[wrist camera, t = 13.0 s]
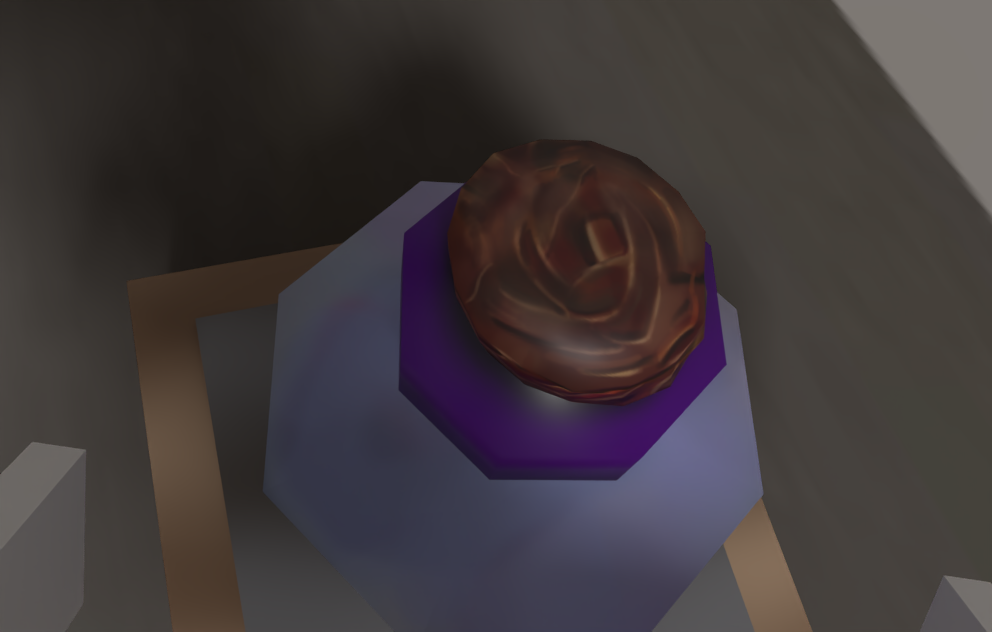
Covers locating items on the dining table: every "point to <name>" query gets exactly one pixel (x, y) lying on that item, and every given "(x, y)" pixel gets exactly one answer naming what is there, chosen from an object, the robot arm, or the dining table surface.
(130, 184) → the dining table surface
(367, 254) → the potion bottle
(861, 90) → the dining table surface
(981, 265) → the dining table surface
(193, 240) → the dining table surface
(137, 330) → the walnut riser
